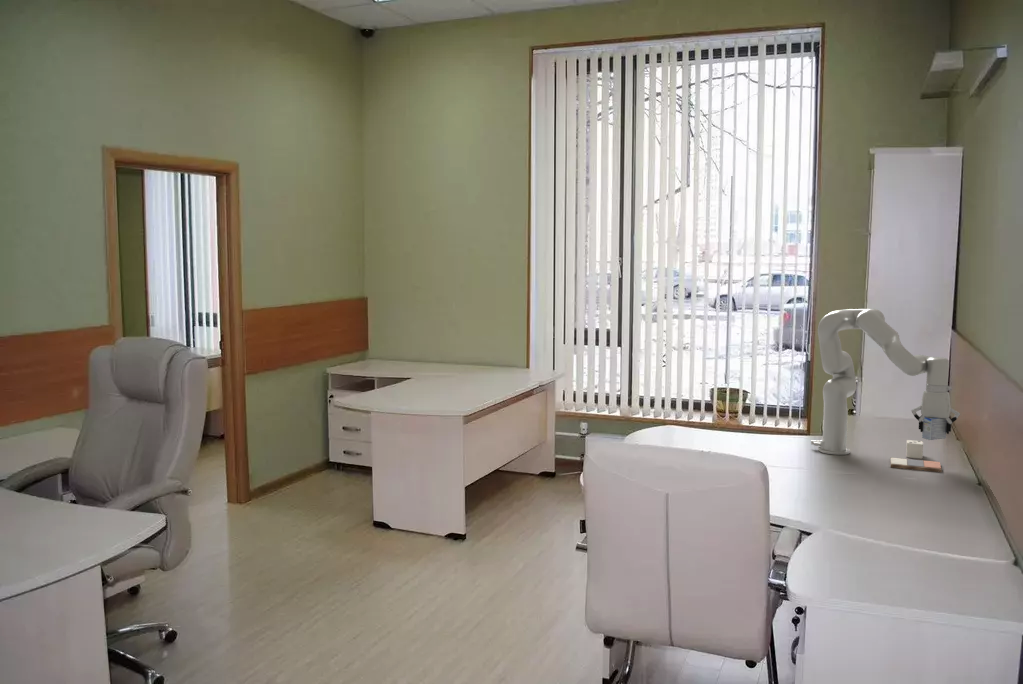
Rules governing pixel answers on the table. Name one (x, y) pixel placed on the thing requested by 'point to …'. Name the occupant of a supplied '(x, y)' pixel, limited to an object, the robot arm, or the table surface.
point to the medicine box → (934, 428)
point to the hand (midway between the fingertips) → (934, 432)
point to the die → (914, 449)
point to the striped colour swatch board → (915, 464)
